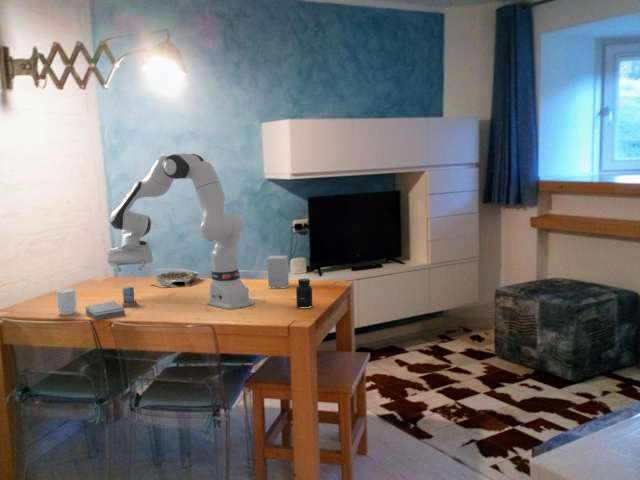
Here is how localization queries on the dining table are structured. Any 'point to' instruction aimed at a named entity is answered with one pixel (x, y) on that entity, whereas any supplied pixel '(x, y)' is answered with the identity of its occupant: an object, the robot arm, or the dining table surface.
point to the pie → (175, 278)
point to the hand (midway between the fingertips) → (130, 271)
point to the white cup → (66, 301)
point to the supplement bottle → (304, 293)
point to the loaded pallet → (128, 297)
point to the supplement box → (277, 271)
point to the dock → (105, 310)
